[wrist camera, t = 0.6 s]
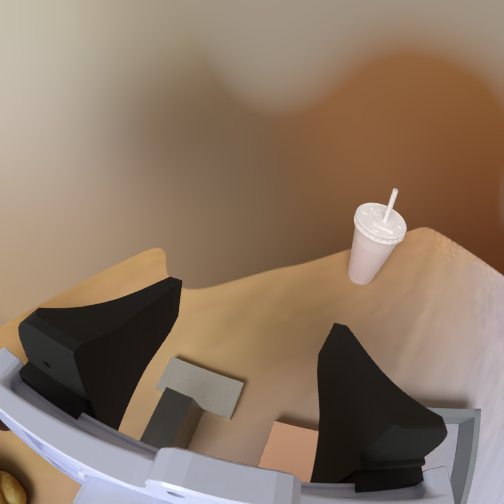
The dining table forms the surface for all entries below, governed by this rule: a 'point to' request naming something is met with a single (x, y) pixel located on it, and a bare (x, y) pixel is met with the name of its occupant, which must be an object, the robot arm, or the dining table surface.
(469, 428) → the frame
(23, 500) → the bread roll
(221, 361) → the dining table surface
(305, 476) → the tile
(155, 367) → the dining table surface
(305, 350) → the dining table surface
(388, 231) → the smoothie
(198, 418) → the turner
